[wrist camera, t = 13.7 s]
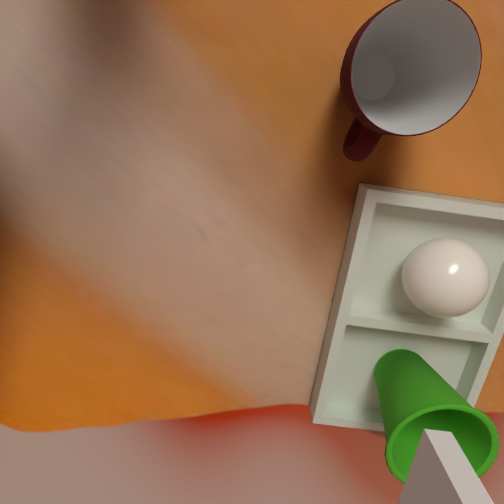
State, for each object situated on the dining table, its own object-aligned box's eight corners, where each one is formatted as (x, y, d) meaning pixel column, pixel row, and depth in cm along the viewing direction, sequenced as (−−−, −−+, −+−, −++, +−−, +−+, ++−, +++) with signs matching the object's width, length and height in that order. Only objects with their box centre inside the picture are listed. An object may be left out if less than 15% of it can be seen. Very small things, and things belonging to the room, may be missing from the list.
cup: (447, 330, 42) (510, 405, 31) (435, 403, 45) (489, 493, 34) (358, 331, 42) (391, 405, 31) (352, 403, 45) (381, 493, 34)
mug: (390, 166, 37) (435, 187, 28) (304, 144, 36) (320, 157, 27) (436, 39, 34) (505, 14, 24) (341, 12, 33) (375, -25, 24)
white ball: (383, 291, 40) (408, 327, 34) (401, 223, 38) (432, 247, 31) (452, 300, 40) (490, 338, 34) (475, 233, 38) (521, 260, 32)
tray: (309, 403, 46) (312, 423, 43) (359, 182, 38) (367, 188, 35) (448, 420, 46) (460, 441, 44) (528, 206, 38) (550, 214, 35)
